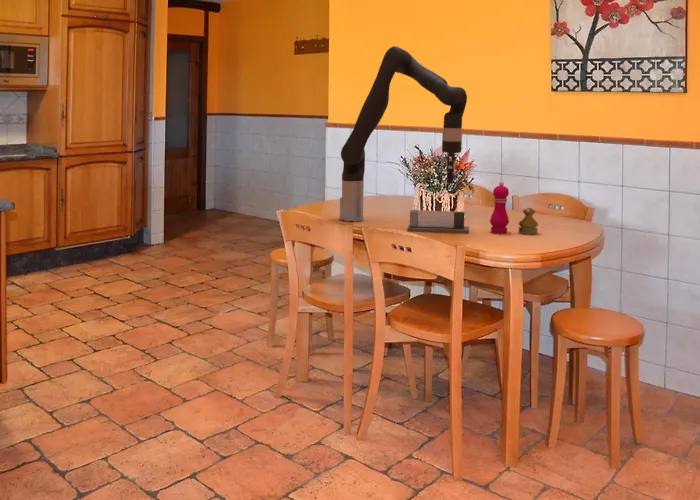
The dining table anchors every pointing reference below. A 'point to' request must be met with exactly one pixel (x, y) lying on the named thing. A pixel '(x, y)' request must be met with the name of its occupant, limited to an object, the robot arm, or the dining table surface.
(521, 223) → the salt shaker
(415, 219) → the block
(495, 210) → the pepper mill
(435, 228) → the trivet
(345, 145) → the robot arm
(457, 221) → the block
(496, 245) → the dining table surface
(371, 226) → the dining table surface
